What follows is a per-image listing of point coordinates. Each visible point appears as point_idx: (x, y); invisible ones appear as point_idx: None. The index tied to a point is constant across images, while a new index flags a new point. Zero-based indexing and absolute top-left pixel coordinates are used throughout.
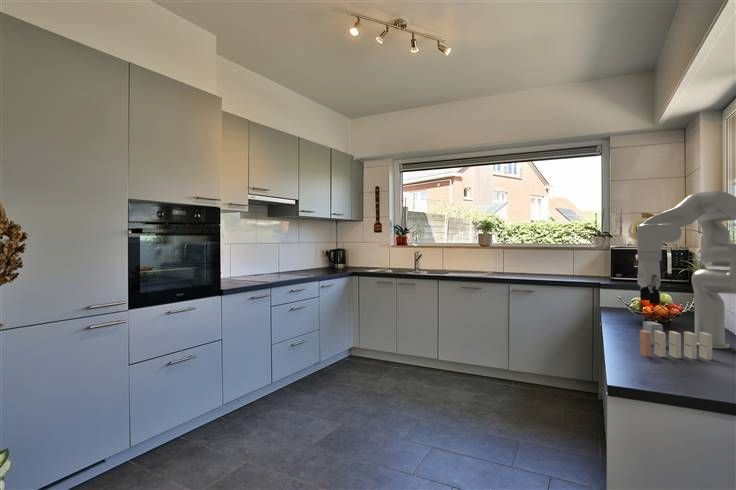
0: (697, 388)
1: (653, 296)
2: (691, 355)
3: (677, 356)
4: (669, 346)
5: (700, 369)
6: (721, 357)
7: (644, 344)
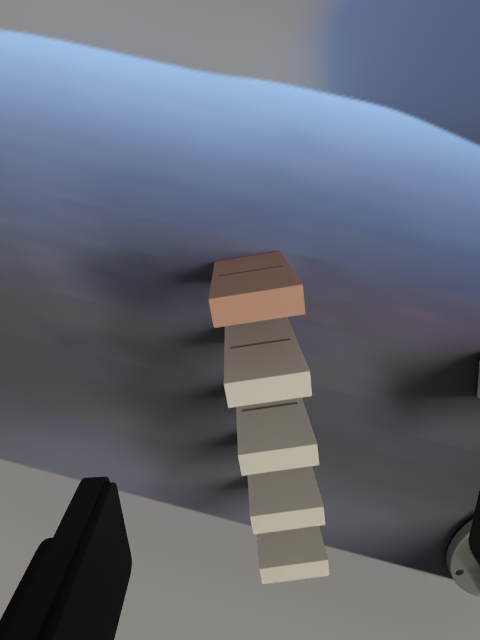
0: None
1: (6, 627)
2: None
3: None
4: None
5: (71, 409)
6: None
7: (226, 273)
